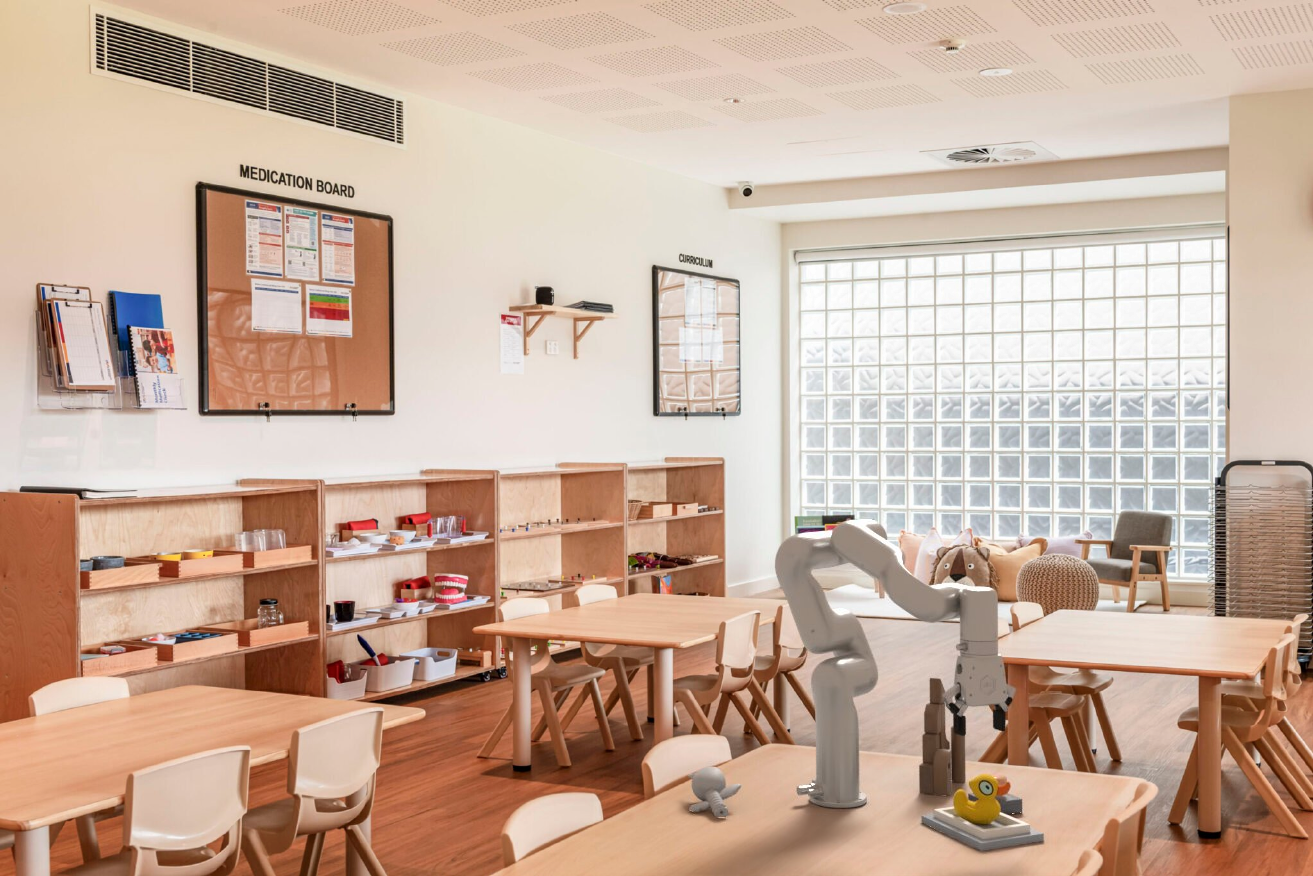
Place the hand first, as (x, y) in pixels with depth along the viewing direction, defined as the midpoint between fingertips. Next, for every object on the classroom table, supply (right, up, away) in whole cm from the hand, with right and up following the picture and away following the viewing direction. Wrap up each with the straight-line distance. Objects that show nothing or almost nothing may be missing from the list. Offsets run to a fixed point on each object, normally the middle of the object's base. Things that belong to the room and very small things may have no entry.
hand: (979, 732), depth 251 cm
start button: (+7, -16, +14) cm, 23 cm away
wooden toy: (0, -21, +33) cm, 39 cm away
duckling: (0, -19, 0) cm, 19 cm away
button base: (+7, -20, +14) cm, 26 cm away
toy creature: (-54, -21, +20) cm, 61 cm away
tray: (0, -20, 0) cm, 20 cm away
